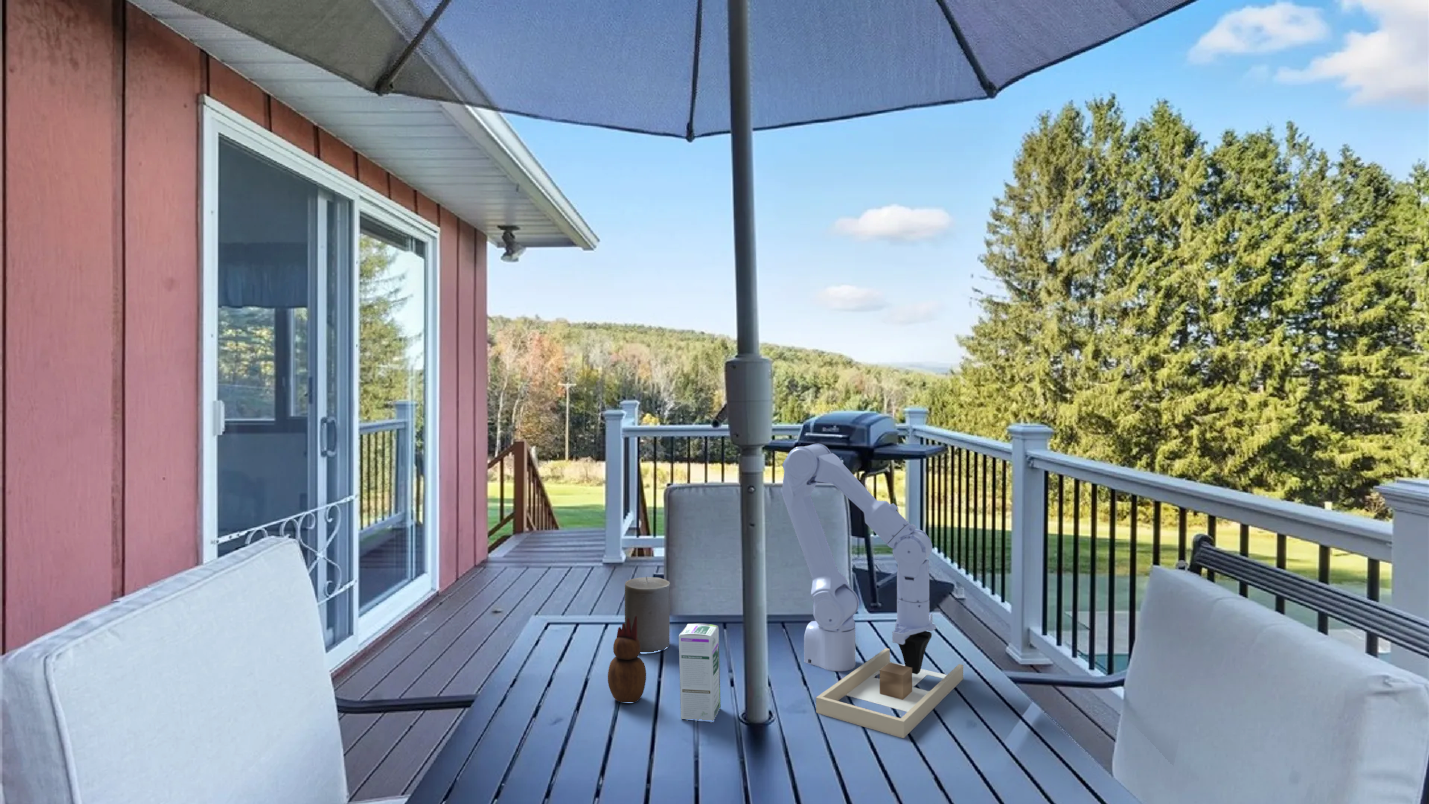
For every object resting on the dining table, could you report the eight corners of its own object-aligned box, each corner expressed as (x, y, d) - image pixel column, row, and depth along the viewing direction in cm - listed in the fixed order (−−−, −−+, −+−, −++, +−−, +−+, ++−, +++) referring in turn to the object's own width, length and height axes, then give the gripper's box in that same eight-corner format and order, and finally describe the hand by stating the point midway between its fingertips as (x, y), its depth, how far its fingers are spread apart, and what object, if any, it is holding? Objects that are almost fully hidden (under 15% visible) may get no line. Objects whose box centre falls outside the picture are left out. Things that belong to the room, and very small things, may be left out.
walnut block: (879, 693, 126) (879, 669, 126) (889, 685, 130) (889, 662, 130) (902, 699, 124) (902, 675, 124) (912, 691, 127) (912, 667, 127)
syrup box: (714, 723, 119) (713, 635, 119) (679, 720, 120) (678, 633, 120) (720, 708, 124) (720, 624, 124) (687, 705, 126) (686, 622, 125)
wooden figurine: (652, 700, 128) (651, 615, 128) (627, 710, 124) (626, 623, 124) (627, 689, 133) (626, 607, 132) (602, 699, 128) (601, 615, 128)
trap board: (816, 721, 119) (816, 697, 119) (885, 668, 142) (885, 648, 142) (903, 747, 110) (903, 721, 110) (963, 686, 133) (963, 665, 133)
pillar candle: (616, 652, 152) (617, 580, 151) (635, 636, 161) (635, 569, 161) (660, 657, 149) (660, 584, 148) (676, 641, 158) (676, 572, 158)
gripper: (919, 611, 125) (919, 690, 125) (948, 592, 136) (948, 664, 137) (881, 604, 129) (881, 680, 129) (911, 586, 141) (912, 656, 141)
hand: (913, 672), depth 133 cm, fingers closed
